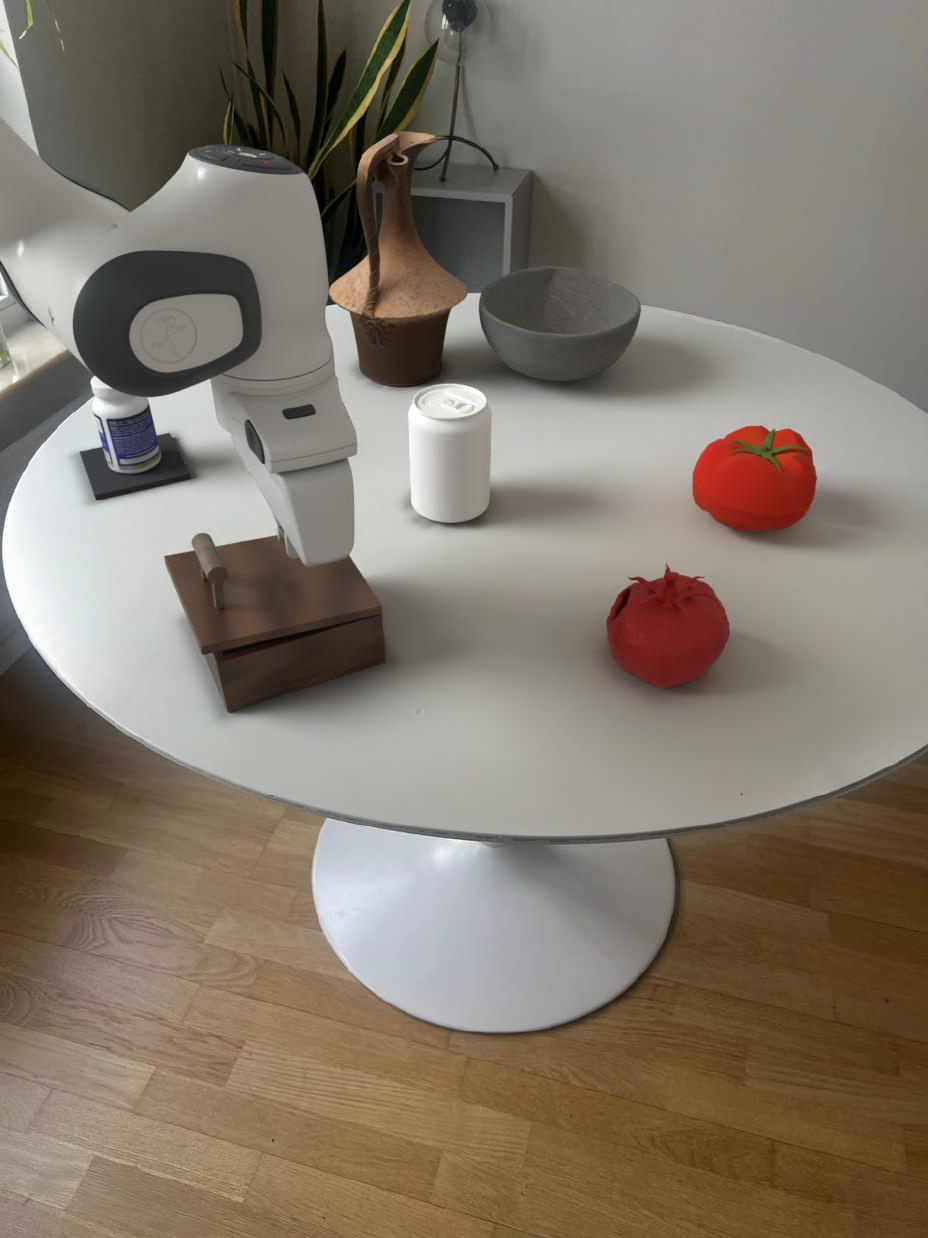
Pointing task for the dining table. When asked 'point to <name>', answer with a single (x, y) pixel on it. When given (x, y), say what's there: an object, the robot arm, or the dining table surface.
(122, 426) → the pill bottle
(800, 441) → the tomato
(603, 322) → the bowl
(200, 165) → the robot arm
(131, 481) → the mat
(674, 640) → the red crowned fruit
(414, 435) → the beverage can
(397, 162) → the pitcher
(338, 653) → the chest
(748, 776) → the dining table surface
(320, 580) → the chest lid
